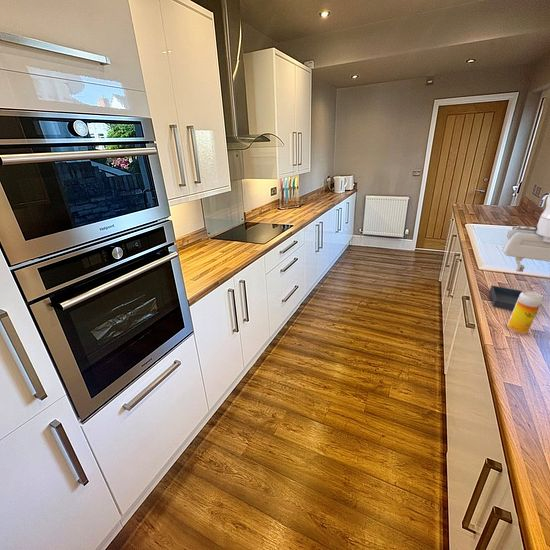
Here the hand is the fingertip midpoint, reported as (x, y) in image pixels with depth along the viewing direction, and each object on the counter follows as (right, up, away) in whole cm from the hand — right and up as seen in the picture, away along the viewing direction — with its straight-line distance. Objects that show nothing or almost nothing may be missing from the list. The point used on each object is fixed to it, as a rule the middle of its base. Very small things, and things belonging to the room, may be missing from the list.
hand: (538, 273), depth 87 cm
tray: (+21, -12, +38) cm, 45 cm away
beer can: (+10, -21, +20) cm, 30 cm away
